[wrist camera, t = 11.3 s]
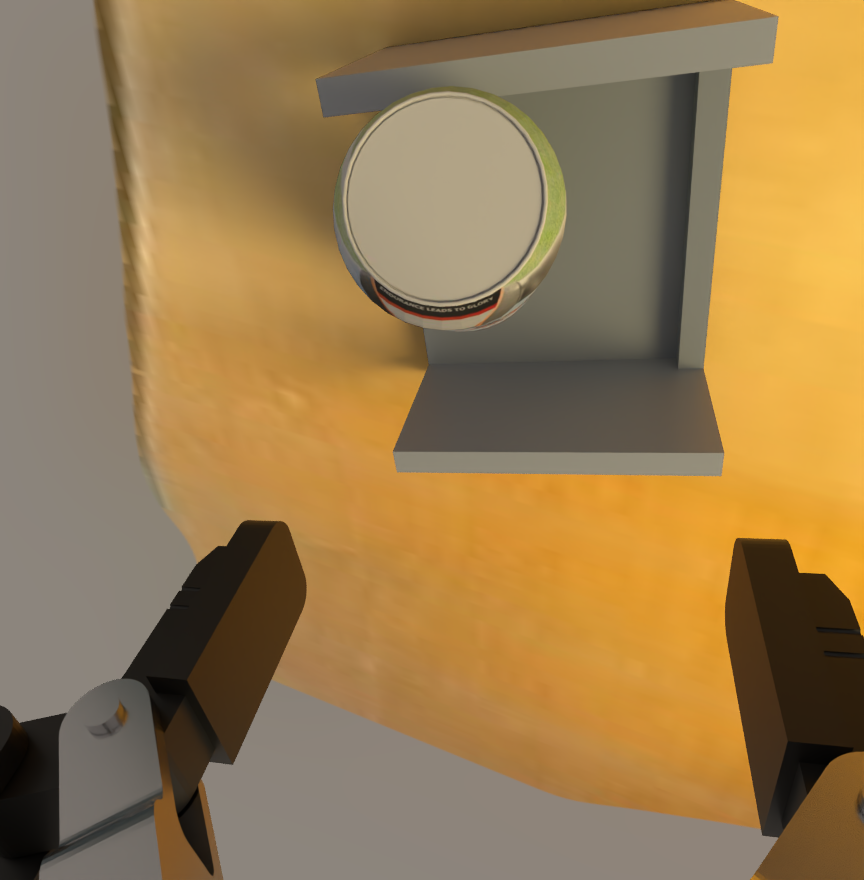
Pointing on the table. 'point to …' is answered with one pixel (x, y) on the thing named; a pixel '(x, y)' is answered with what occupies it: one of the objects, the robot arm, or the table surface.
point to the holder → (588, 243)
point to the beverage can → (450, 209)
